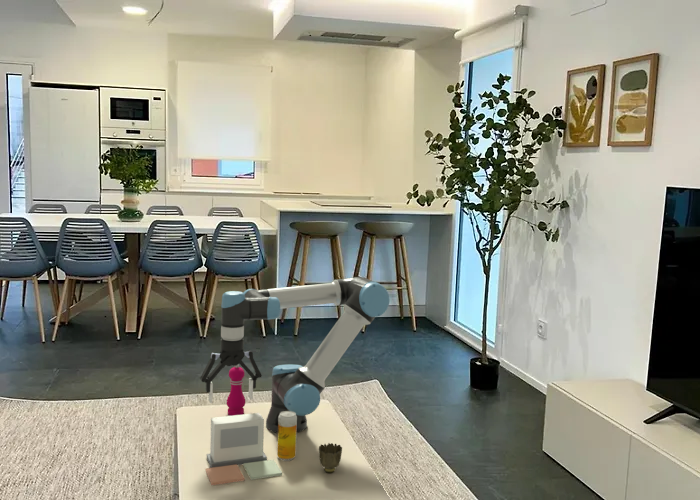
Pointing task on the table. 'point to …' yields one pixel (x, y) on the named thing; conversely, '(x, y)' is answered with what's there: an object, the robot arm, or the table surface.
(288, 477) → the table surface
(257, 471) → the sage pad
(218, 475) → the terracotta pad
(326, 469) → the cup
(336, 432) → the table surface
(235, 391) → the pepper mill
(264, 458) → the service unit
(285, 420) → the beer can
